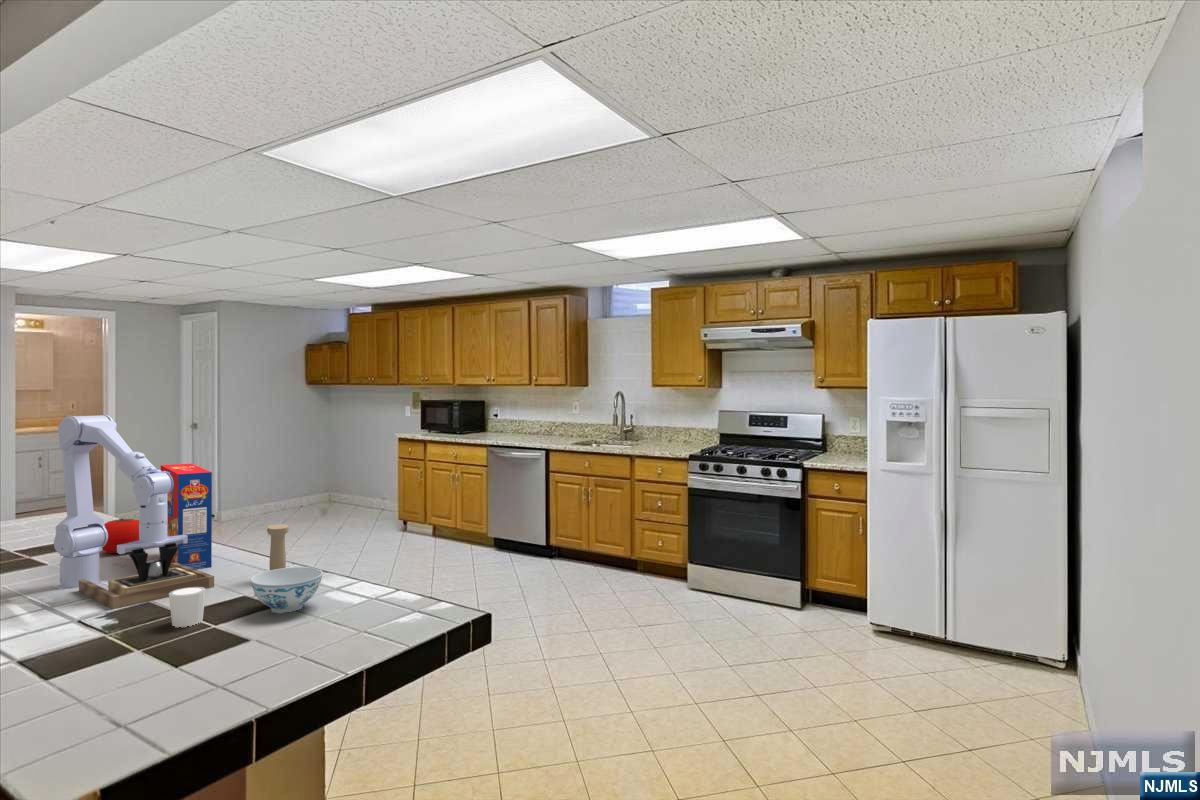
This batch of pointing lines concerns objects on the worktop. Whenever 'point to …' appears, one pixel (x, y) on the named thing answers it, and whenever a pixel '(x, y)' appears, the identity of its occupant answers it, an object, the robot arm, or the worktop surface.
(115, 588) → the crate
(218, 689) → the worktop surface
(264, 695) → the worktop surface
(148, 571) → the peg
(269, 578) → the chinaware
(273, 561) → the handle
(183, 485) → the pasta box
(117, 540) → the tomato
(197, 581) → the bay
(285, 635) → the worktop surface
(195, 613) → the white cylinder
